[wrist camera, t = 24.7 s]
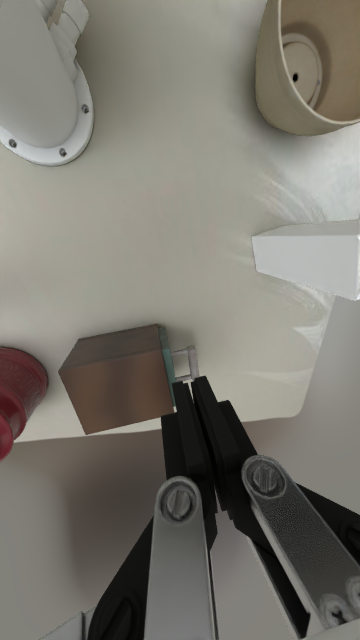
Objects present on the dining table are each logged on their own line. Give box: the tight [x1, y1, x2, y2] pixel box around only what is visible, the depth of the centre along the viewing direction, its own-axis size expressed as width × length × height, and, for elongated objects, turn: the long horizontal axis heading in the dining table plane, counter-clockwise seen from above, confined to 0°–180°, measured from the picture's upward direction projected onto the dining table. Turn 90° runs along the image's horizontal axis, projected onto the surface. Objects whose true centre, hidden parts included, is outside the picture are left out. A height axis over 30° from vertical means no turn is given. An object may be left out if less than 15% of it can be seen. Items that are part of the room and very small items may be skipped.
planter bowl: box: [255, 0, 360, 136], centre depth 23 cm, size 16×16×11 cm
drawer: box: [158, 328, 199, 407], centre depth 35 cm, size 17×10×8 cm, turn 98°
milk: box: [251, 219, 360, 300], centre depth 26 cm, size 6×6×22 cm
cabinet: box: [58, 324, 174, 435], centre depth 35 cm, size 14×12×10 cm
